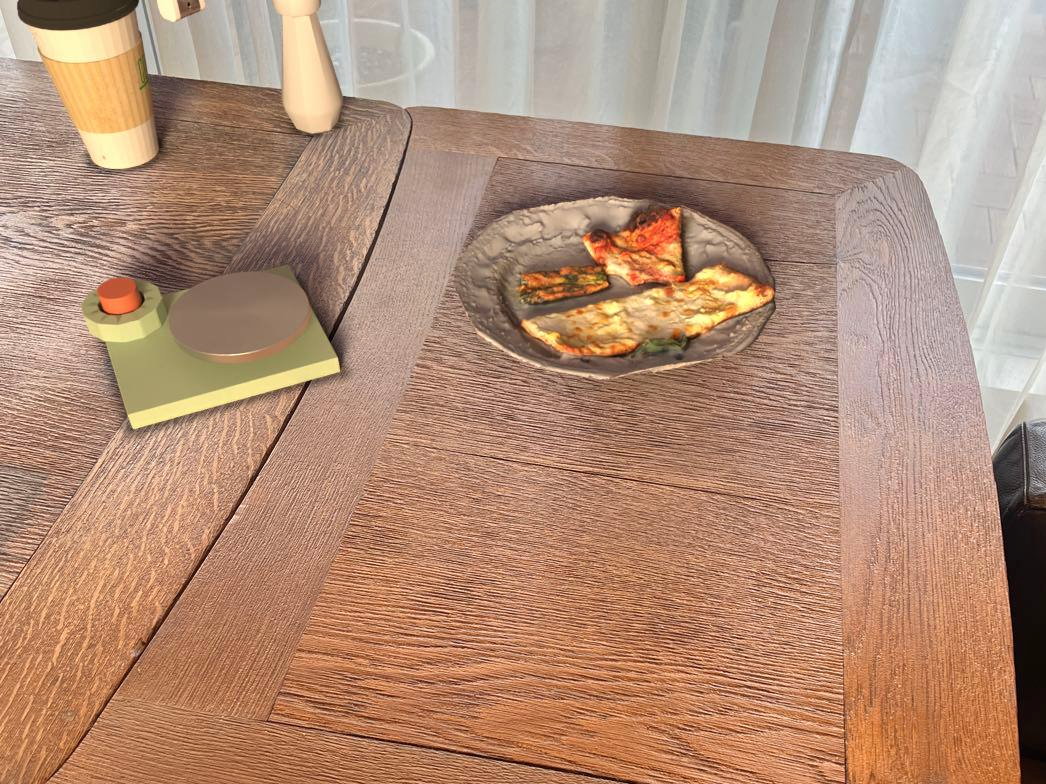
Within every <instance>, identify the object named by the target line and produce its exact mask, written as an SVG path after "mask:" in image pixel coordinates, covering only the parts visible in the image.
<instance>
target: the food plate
mask: <svg viewBox="0 0 1046 784" xmlns="http://www.w3.org/2000/svg"><path fill="white" fill-rule="evenodd" d="M453 275H454V278H453V284H454V286H455V291H456V294H457V298H458V300H459V302H460V306H461V307H462V308H463V312H464V314H465V315H466V318H467V319H468V321H469V323H470V325H471V327H472V328H473V330H474V332H475V333H476V335H478V337H480V338H481V339H483V340H485V342H488V344H490V345H491V346H494V347H496V348H498V350H500V351H503V352H504V353H506V354H508V355H509V356H511V357H513V358H516V359H517V360H519V361H520V362H522V363H523V362H525V363H526V364H529V365H531V366H533V367H537V368H540V369H544V370H547V371H551V372H555V373H558V374H559V373H560V374H565V375H569V376H574V377H580V378H589V379H596V380H600V381H604V380H605V381H608V380H611V379H616V378H626V377H628V376H629V377H631V376H633V375H637V374H638V375H640V374H647V373H653V374H655V373H657V372H663V371H668V370H672V369H678V368H680V367H684V366H685V367H686V366H693V365H694V366H695V365H697V364H701V363H703V362H712V361H714V360H719V361H721V360H722V359H728V358H729V357H731V356H732V355H733V356H734V355H737V354H738V353H741V352H744V351H745V350H746V349H747V348H750V347H751V346H752V345H753V344H754V343H755V342H756V341H757V340H759V337H760V336H761V334H762V332H763V330H764V328H765V327H766V326H767V324H768V322H769V320H771V317H772V316H773V315H774V312H776V311H777V304H776V300H775V298H776V297H775V296H776V290H777V289H776V288H777V287H776V286H777V285H776V278H775V277H774V276H773V275H772V270H771V268H770V266H769V264H767V262H766V260H765V258H764V256H763V254H762V252H761V251H760V249H759V248H758V246H756V244H754V243H752V241H751V240H750V239H748V238H747V237H746V236H745V235H744V234H743V233H741V232H740V231H739V230H737V229H736V228H734V227H732V226H730V225H728V224H726V223H724V222H722V221H721V220H718V219H716V218H713V217H712V216H710V215H708V214H706V213H703V212H702V211H700V210H698V209H695V208H692V207H690V206H687V205H684V204H675V203H672V202H670V203H668V202H665V203H661V202H660V201H654V199H650V198H641V199H633V198H625V197H620V196H618V195H617V196H615V195H611V196H607V195H606V196H603V197H602V196H599V197H596V198H593V197H591V198H588V199H587V198H586V199H578V200H575V201H573V200H572V201H563V202H558V203H556V204H555V203H552V204H549V205H548V204H546V205H541V206H536V207H529V209H525V208H524V209H519V210H512V212H509V213H507V214H504V215H502V216H500V217H499V218H495V219H493V220H492V221H491V222H489V223H487V224H486V225H485V226H484V227H483V228H481V229H480V230H479V231H478V232H477V233H476V235H475V236H474V237H472V238H471V240H470V241H469V242H468V243H467V245H466V246H465V247H464V249H463V250H462V251H461V253H460V254H459V257H458V258H457V259H456V262H455V267H454V273H453Z"/></svg>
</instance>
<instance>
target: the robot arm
mask: <svg viewBox="0 0 1046 784" xmlns="http://www.w3.org/2000/svg"><path fill="white" fill-rule="evenodd" d="M156 2H157V3H156V4H157V7H158V12H159V13H160V16H161V17H162V18H163V19H164V20H167V21H169V22H171V23H175V22H179V21H180V20H182V19H184V18H187V17H189V16H192V15H194V14H197V13H199V12H202V11H204V10H206V6H207V5H206V0H156Z"/></svg>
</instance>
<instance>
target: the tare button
mask: <svg viewBox="0 0 1046 784" xmlns="http://www.w3.org/2000/svg"><path fill="white" fill-rule="evenodd" d="M132 279H133V278H129V277H121V276H120V277H113V278H110V279H107V280H105V281H103V282H102V283H101V284H100V285H99V286H98V287H97V288H98V289H97V288H96V289H97V294H98V297H99V299H100V302H101V305H102V307H103V310H104V311H105V313H107V314H108V315H117V316H119V315H123V314H127V313H131V312H134V311H135V310H137V309H138V308H140V307H141V305H142V299H141V296H140V294H139V291H138V288H137V285H136V283H135V282H134V281H133V280H132Z"/></svg>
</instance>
